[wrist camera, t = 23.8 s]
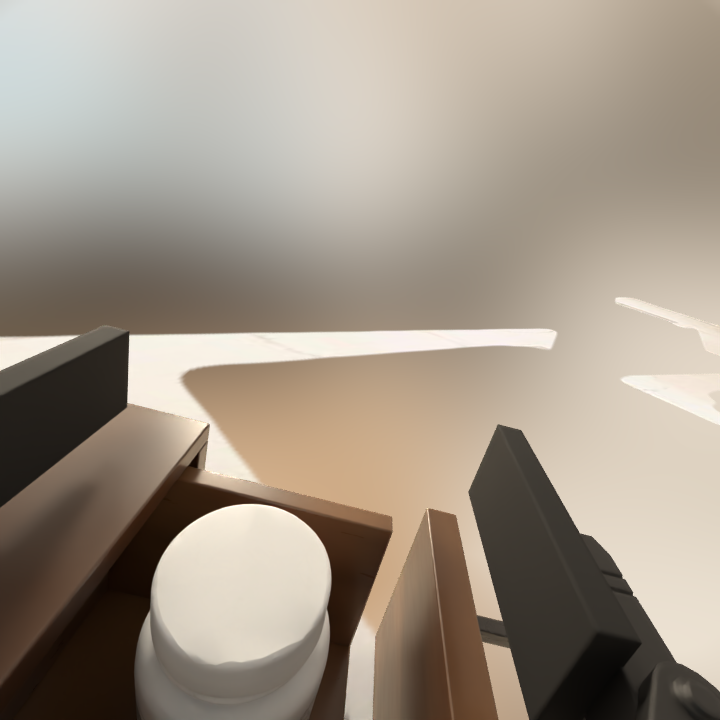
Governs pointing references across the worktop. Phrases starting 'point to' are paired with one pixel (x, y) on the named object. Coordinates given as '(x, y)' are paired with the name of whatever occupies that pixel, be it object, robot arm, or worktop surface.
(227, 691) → the pill bottle
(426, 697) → the drawer
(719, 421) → the worktop surface
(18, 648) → the cabinet
